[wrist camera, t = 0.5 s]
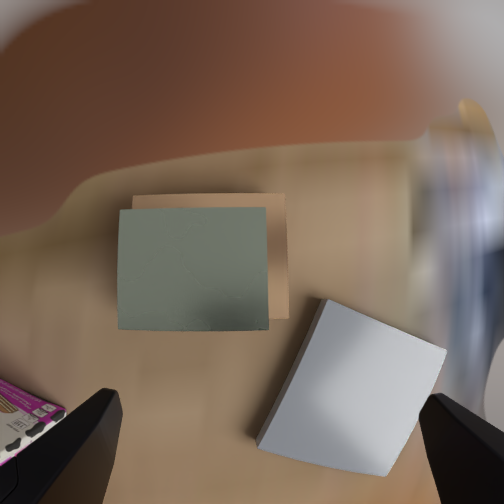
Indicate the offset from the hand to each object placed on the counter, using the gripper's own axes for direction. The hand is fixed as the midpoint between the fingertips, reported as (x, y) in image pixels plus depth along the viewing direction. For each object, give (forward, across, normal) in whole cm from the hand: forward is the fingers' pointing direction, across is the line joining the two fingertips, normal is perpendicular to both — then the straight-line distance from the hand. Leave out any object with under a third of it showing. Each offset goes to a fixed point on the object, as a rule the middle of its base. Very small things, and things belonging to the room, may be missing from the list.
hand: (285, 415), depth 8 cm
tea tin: (+12, +3, +2) cm, 13 cm away
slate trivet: (+11, -9, +11) cm, 18 cm away
